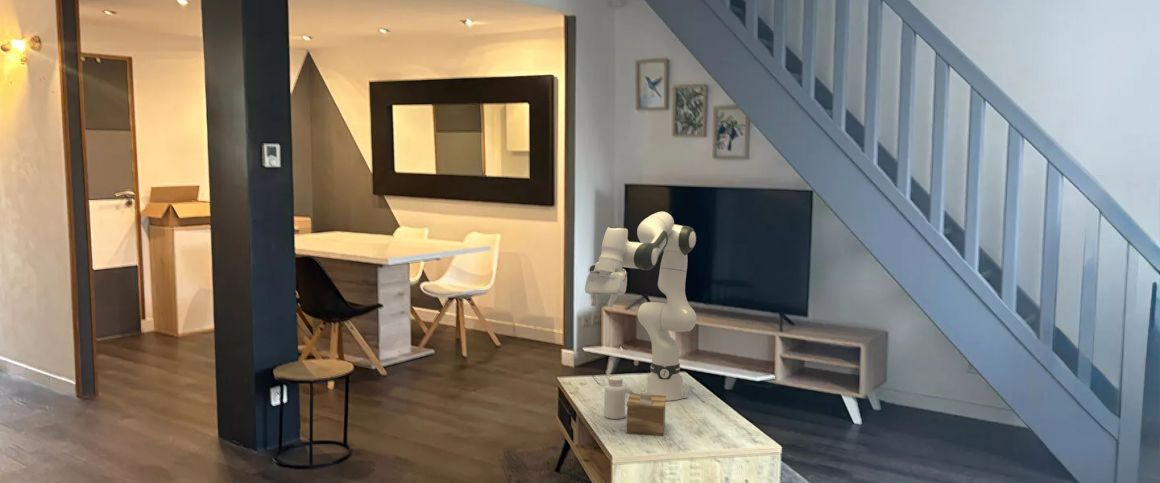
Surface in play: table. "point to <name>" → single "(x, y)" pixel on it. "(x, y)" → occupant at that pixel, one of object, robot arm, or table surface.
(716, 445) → the table surface
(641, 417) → the carton
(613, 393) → the pill bottle
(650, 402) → the lid
